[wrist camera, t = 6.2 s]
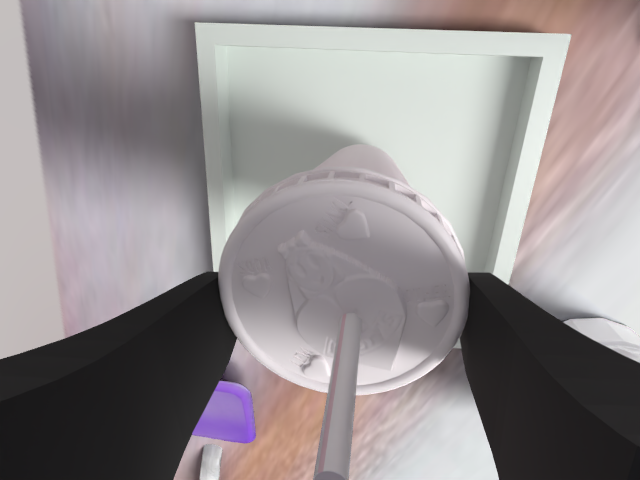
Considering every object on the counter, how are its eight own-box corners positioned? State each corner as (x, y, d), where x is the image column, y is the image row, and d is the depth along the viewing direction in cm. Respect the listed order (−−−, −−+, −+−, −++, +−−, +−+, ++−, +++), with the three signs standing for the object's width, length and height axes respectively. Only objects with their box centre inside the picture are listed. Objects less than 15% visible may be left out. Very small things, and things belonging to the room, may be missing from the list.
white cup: (627, 430, 24) (776, 654, 15) (488, 408, 25) (550, 608, 16) (686, 318, 21) (921, 515, 12) (525, 296, 22) (628, 466, 13)
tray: (553, 36, 17) (571, 34, 15) (483, 331, 23) (491, 352, 21) (211, 25, 19) (194, 22, 17) (228, 303, 24) (217, 320, 23)
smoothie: (343, 269, 21) (279, 605, 8) (264, 166, 19) (33, 396, 7) (459, 202, 19) (611, 530, 6) (380, 79, 17) (366, 180, 4)
